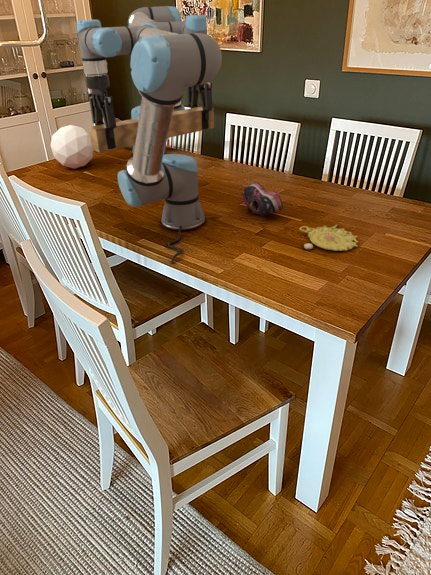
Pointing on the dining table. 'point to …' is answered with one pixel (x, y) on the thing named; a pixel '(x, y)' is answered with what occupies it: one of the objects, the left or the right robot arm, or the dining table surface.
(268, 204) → the athletic shoe
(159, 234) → the dining table surface
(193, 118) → the bar
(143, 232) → the dining table surface
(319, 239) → the decorative object
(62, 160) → the sphere
